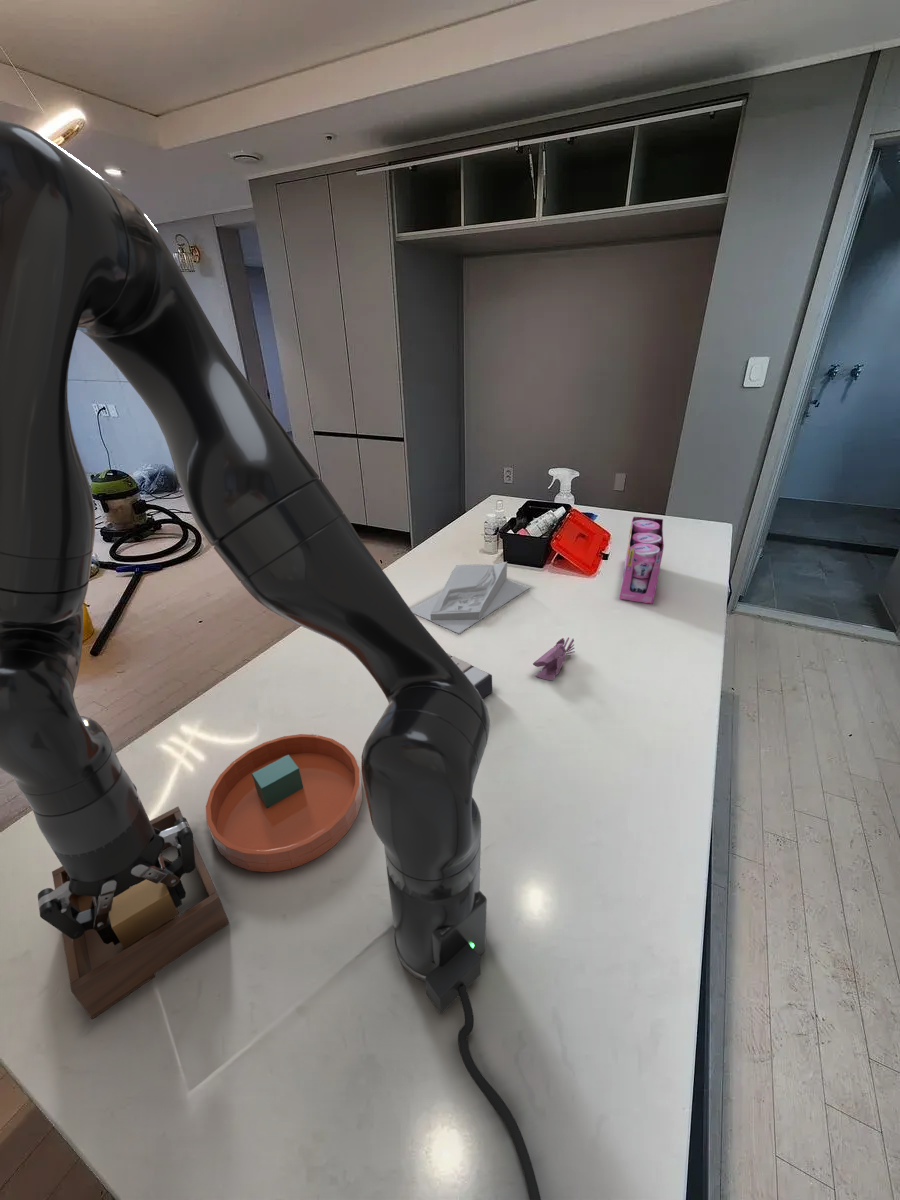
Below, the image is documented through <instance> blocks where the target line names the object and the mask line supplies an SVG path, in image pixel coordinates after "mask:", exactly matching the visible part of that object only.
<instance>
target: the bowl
mask: <svg viewBox="0 0 900 1200" xmlns="http://www.w3.org/2000/svg"><path fill="white" fill-rule="evenodd" d="M286 755H289V756H290V757H291V758H292V760H293V761H294V762H295V764H296V765H297V766H298V768H299V771H300V775H301V779H302V784H303V788H302V789H300V790H298V791H297V792H295V793H293V794H291V795H290V796H288V797H286V798H284V799H283V800H281V801H279V802H277V803H276V804H274V805H272V806H270V807H269V808H266V806H265V804H264V803H263V801H262V800H261V798H260V796H259V795H258V793H257V790H256V787H255V783H254V780H253V776H252V773H254V772H256V771H258V770H260V769H262V768H264V767H265V766H267V765H269V764H271V763H273V762H275V761H277V760H279V759H281V758H283V757H285V756H286ZM359 767H360V766H359V765H358V762H357V760H356V757H355V756H354V754H353V753H352V752H351V750H349V748H348V747H346V746H345V745H344V744H342V743H340V742H339V741H337V740H335V739H333V738H330V737H326V736H322V735H319V734H306V733H298V734H292V735H291V734H290V735H285V736H284V735H283V736H281V737H277V738H274V739H270V740H266V741H265V742H262V743H260V744H258V745H256V746H255V747H252V748H251V749H249V750H247V751H246V752H244V753H243V754H241V755H240V756H238V757H237V758H235V760H233V761H232V762H231V763H230V764H229V765H228V766H226V768H225V769H224V770H223V771H222V772H221V773H220V775H218V777H217V779H216V781H215V782H214V784H213V785H212V787H211V789H210V791H209V793H208V798H207V801H206V803H205V804H206V805H205V818H206V825H207V827H208V831H209V832H210V835H211V837H212V840H213V842H214V844H215V847H216V848H217V850H218V853H219V854H220V855H221V856H222V857H224V858H225V859H226V860H227V861H228V862H229V863H231V864H232V865H234V866H236V867H239V868H241V869H244V870H247V871H252V872H259V873H275V872H280V871H287V870H290V869H294V868H297V867H300V866H303V865H305V864H307V863H310V862H312V861H314V860H316V859H317V858H319V857H321V856H322V855H324V854H325V853H326V852H328V851H329V850H331V849H332V848H334V847H335V845H336V844H338V843H339V842H340V841H341V840H342V839H343V838H344V837H345V835H346V834H347V833H348V832H349V830H350V829H351V827H352V826H353V824H354V822H355V820H356V819H357V817H358V815H359V812H360V808H361V805H362V802H363V788H362V779H361V778H362V777H361V771H360V768H359Z"/></svg>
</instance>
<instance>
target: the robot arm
mask: <svg viewBox="0 0 900 1200" xmlns="http://www.w3.org/2000/svg"><path fill="white" fill-rule="evenodd" d="M77 331H80V332H81V333H83V334H84V335H85V336H87V338H89V339H90V340H91V341H92V342H93V343H94V344H95V345H96V346H97V347H98V348H99V349H100V350H101V351H102V352H103V353H104V354H105V356H107V358H108V359H109V360H110V361H111V362H112V363H113V365H114V366H115V367H116V368H117V369H118V370H119V372H120V373H121V374H122V375H123V377H124V378H125V379H126V380H127V382H128V383H129V384H130V385H131V387H132V388H133V389H134V390H135V392H136V393H137V395H138V396H139V397H140V398H141V400H142V401H143V402H144V404H145V405H146V407H147V408H148V409H149V411H150V413H151V414H152V416H153V417H154V419H155V420H156V423H157V424H158V427H159V428H160V430H161V433H162V435H163V437H164V439H165V442H166V445H167V447H168V450H169V454H170V457H171V460H172V463H173V468H174V470H175V471H174V472H175V473H176V477H177V479H178V483H179V486H180V489H181V492H182V494H183V497H184V500H185V502H186V504H187V507H188V509H189V511H190V514H191V515H192V518H193V519H194V521H195V524H196V525H197V527H198V528H199V530H200V531H201V533H202V534H203V536H204V537H205V538H206V540H207V542H208V543H209V544H210V547H213V550H214V551H215V552H216V554H217V555H218V556H219V557H220V558H221V561H223V563H224V564H225V565H226V566H227V567H228V569H229V570H230V571H231V572H232V574H233V575H234V576H235V578H237V580H238V581H239V582H240V584H241V585H242V586H243V588H244V589H245V591H247V592H248V593H249V594H250V595H251V596H252V598H254V599H255V600H256V601H257V602H258V603H259V604H260V605H262V606H263V607H265V608H266V609H268V610H269V611H271V612H272V613H274V614H276V615H278V616H279V617H281V618H283V619H285V620H287V621H289V622H291V623H293V624H295V625H297V626H300V627H302V628H304V629H306V630H309V631H311V632H313V633H316V634H318V635H320V636H322V637H324V638H327V639H328V640H331V641H332V642H335V643H336V644H338V645H340V646H341V647H343V649H346V650H347V651H348V652H349V653H351V655H353V656H354V657H355V658H356V659H357V660H358V661H359V662H360V664H361V665H362V666H363V667H364V668H365V670H366V671H367V672H368V673H369V675H370V676H371V677H372V678H373V679H374V681H375V682H376V684H377V685H378V687H379V688H380V689H381V691H382V693H383V694H384V696H385V698H386V700H387V704H388V705H387V707H386V708H385V710H384V711H383V713H382V715H381V716H380V718H379V720H378V721H377V723H376V725H375V726H374V728H373V729H372V731H371V732H370V733H369V736H368V737H367V739H366V741H365V743H364V745H363V747H362V748H363V749H362V753H361V763H360V764H361V766H360V767H361V778H362V783H363V788H364V793H365V798H366V802H367V803H366V804H367V808H368V811H369V812H368V813H369V818H370V821H371V825H372V827H373V830H374V832H375V834H376V836H377V837H378V839H379V841H380V842H381V843H382V845H383V849H384V856H385V864H386V873H387V874H386V875H387V881H388V890H389V899H390V905H391V913H392V915H391V916H392V922H393V930H394V945H395V950H396V954H397V956H398V959H399V961H400V963H401V965H402V966H403V967H404V969H405V970H406V971H407V972H408V973H410V974H411V975H412V976H413V977H415V978H417V979H419V980H420V981H423V982H425V989H426V996H427V997H428V998H429V1000H430V1001H431V1003H432V1005H434V1007H435V1009H436V1010H437V1011H438V1013H439V1014H440V1015H442V1014H444V1012H445V1011H446V1010H447V1009H448V1008H449V1007H450V1006H451V1005H452V1004H453V1003H454V1002H455V1001H456V1000H457V999H458V998H459V999H460V1003H461V1007H462V1011H463V1015H464V1024H463V1026H462V1027H461V1028H460V1030H459V1032H458V1035H457V1040H458V1041H457V1042H458V1047H459V1051H460V1052H459V1053H460V1055H461V1058H462V1060H463V1064H464V1065H465V1068H466V1070H467V1072H468V1074H469V1075H470V1076H471V1079H472V1080H473V1081H474V1082H475V1084H476V1085H477V1086H478V1088H479V1090H480V1091H481V1092H482V1093H483V1094H484V1096H485V1097H486V1098H487V1100H488V1101H489V1103H491V1105H492V1106H493V1107H494V1109H495V1110H496V1111H497V1113H498V1114H499V1116H500V1118H501V1119H502V1121H503V1122H504V1125H505V1126H506V1128H507V1129H508V1132H509V1135H510V1136H511V1137H510V1138H511V1139H512V1142H513V1144H514V1147H515V1149H516V1153H517V1155H518V1159H519V1162H520V1165H521V1168H522V1172H523V1175H524V1179H525V1183H526V1187H527V1191H528V1197H529V1200H542V1199H541V1194H540V1190H539V1185H538V1182H537V1177H536V1174H535V1171H534V1166H533V1162H532V1160H531V1157H530V1153H529V1151H528V1148H527V1145H526V1143H525V1140H524V1137H523V1134H522V1131H521V1130H520V1127H519V1125H518V1122H517V1121H516V1118H515V1117H514V1115H513V1114H512V1112H511V1110H510V1109H509V1108H508V1105H507V1104H506V1102H505V1101H504V1100H503V1098H502V1097H501V1096H500V1095H499V1093H498V1091H496V1090H495V1088H494V1087H493V1086H492V1085H491V1083H489V1081H488V1080H487V1079H486V1077H484V1075H483V1074H482V1072H481V1071H480V1070H479V1068H478V1066H477V1065H476V1063H475V1061H474V1059H473V1057H472V1054H471V1052H470V1046H469V1043H468V1037H469V1036H470V1035H471V1033H472V1032H473V1030H474V1025H475V1024H474V1023H475V1022H474V1021H475V1020H474V1019H475V1018H474V1010H473V1007H472V1002H471V999H470V997H469V993H468V990H467V989H468V988H469V987H470V986H471V985H472V984H473V983H474V982H475V981H476V980H477V979H478V978H479V976H481V974H482V973H481V971H482V969H481V967H482V966H481V965H482V958H481V955H482V954H483V953H484V952H486V940H487V939H486V938H487V937H486V935H487V907H488V906H487V904H488V899H487V897H486V896H485V895H484V893H483V892H482V891H481V854H482V853H481V851H482V848H481V847H482V846H481V845H482V816H481V812H480V808H479V806H478V804H477V802H476V800H475V798H474V797H473V792H474V791H473V790H474V784H475V781H476V779H477V775H478V771H479V769H480V766H481V763H482V760H483V756H484V754H485V750H486V747H487V744H488V741H489V736H490V730H491V720H490V719H491V718H490V713H489V710H488V707H487V705H486V703H485V700H484V698H483V699H482V697H481V695H480V694H479V692H478V691H477V689H476V688H475V686H474V685H473V684H472V683H471V681H470V680H469V679H468V678H467V676H466V675H465V674H464V673H463V672H462V670H461V669H460V668H459V667H458V666H457V665H456V663H455V662H454V661H453V660H452V659H451V658H450V656H449V655H448V654H449V653H448V652H446V651H445V649H444V648H443V647H442V646H441V645H440V644H439V642H438V641H437V640H436V639H435V638H434V636H433V635H432V634H431V633H430V632H429V630H428V629H427V628H426V627H425V626H424V625H423V623H422V622H421V621H420V619H418V617H417V615H416V614H414V613H413V612H412V611H411V607H409V605H408V604H407V602H406V601H405V600H404V598H403V597H402V595H401V594H400V593H399V591H398V590H397V588H396V587H395V585H394V584H393V583H392V581H391V579H389V577H388V575H387V574H386V573H385V571H384V570H383V568H382V567H381V566H380V565H379V563H378V562H377V561H376V559H375V558H374V556H373V555H372V553H371V552H370V551H369V549H368V547H366V545H365V543H364V542H363V540H362V539H361V537H360V536H359V534H358V532H357V531H356V528H354V526H353V524H352V523H351V521H350V520H349V518H348V517H347V515H346V513H344V511H343V510H342V508H341V507H340V505H339V503H338V501H336V499H335V497H334V496H333V495H332V493H331V492H330V491H329V489H328V487H327V486H326V485H325V483H324V482H323V480H322V479H321V478H320V475H318V473H317V472H316V471H315V469H314V467H313V466H312V465H311V464H310V462H309V461H308V460H307V458H306V457H305V456H304V454H303V453H302V452H301V450H300V449H299V448H298V446H297V445H296V443H295V442H294V441H293V440H292V438H291V436H290V435H289V434H288V432H287V431H286V429H285V428H284V427H283V425H282V424H281V423H280V421H279V420H278V418H277V417H276V416H275V415H274V413H273V411H272V410H271V409H270V408H269V406H268V405H267V404H266V403H265V401H264V400H263V399H262V398H261V396H260V395H259V393H258V392H257V391H256V390H255V388H254V387H253V386H252V385H251V383H250V382H249V381H248V380H247V378H246V377H245V376H244V374H243V372H241V371H240V369H239V368H238V366H237V365H236V363H235V362H234V360H233V358H232V357H231V355H230V354H229V352H228V351H227V349H226V347H225V346H224V345H223V343H222V341H221V340H220V338H219V336H218V335H217V332H216V331H215V329H214V328H213V326H212V324H211V322H210V320H209V318H208V317H207V315H206V314H205V312H204V310H203V308H202V307H201V305H200V303H199V301H198V299H197V298H196V296H195V294H194V292H193V290H192V289H191V287H190V285H189V283H188V281H187V279H186V278H185V276H184V274H183V272H182V270H181V269H180V267H179V265H178V263H177V262H176V260H175V258H174V256H173V254H172V253H171V251H170V250H169V247H168V246H167V244H166V243H165V241H164V239H163V237H162V236H161V235H160V233H159V232H158V230H157V228H156V227H155V226H154V224H153V223H152V222H151V220H150V219H149V218H148V216H147V215H146V214H145V212H144V211H143V210H142V209H141V208H140V207H139V205H137V204H136V203H135V202H134V201H133V200H131V199H130V197H128V196H127V195H126V194H125V193H123V192H122V190H120V189H119V188H117V187H115V185H113V184H111V183H110V182H109V181H107V180H106V179H105V178H104V177H102V176H100V175H99V174H98V173H96V172H95V171H94V170H92V169H91V168H90V167H88V166H87V165H85V164H84V163H83V162H81V161H80V160H79V159H77V158H76V157H75V156H73V155H72V154H70V153H68V152H67V151H66V150H64V149H63V148H61V146H58V145H57V144H56V143H54V142H53V141H51V140H50V139H48V138H46V137H44V136H43V135H41V134H40V133H38V132H36V131H35V130H33V129H30V128H29V127H26V126H24V125H21V124H18V123H16V122H13V121H7V120H5V119H0V770H2V771H4V772H5V773H6V774H8V775H9V776H11V777H13V779H14V782H15V783H16V785H17V787H18V789H19V790H20V792H21V793H22V796H23V797H24V799H25V800H26V802H27V804H28V805H29V807H30V808H31V810H32V812H33V815H34V817H35V821H36V824H37V826H38V828H39V830H40V832H41V833H42V835H43V837H44V839H45V840H46V841H47V844H48V845H49V847H50V848H51V850H52V851H53V854H54V855H55V856H56V857H57V859H58V861H59V862H60V864H61V867H62V866H63V867H64V869H65V871H66V872H67V874H68V877H67V882H65V883H64V884H62V885H61V886H59V887H58V888H56V889H55V888H54V889H53V888H51V887H47V888H44V889H42V890H40V891H39V892H38V893H37V902H38V910H39V917H40V919H42V920H44V921H45V922H47V923H48V924H49V925H51V926H52V927H54V929H57V930H58V931H59V932H61V934H62V933H64V934H65V935H67V936H68V937H70V938H71V939H77V938H79V937H81V936H82V935H83V934H84V933H85V931H87V930H90V929H94V930H96V931H97V933H98V934H99V936H100V938H101V939H102V941H103V942H104V943H105V944H109V943H111V942H113V944H114V945H116V944H118V943H120V941H119V939H118V937H117V936H116V934H115V932H114V931H113V929H112V927H111V922H110V918H109V912H110V911H111V909H112V903H113V897H116V896H118V895H119V894H121V893H123V892H124V891H125V890H127V889H128V888H131V887H133V886H135V885H136V884H138V883H140V882H142V881H144V880H146V879H147V880H149V881H151V882H154V883H156V884H158V883H159V882H160V883H162V884H165V885H166V886H167V889H168V891H169V893H170V895H171V897H172V899H173V902H174V904H175V906H176V908H177V909H178V907H180V906H182V905H183V902H182V900H183V899H185V898H186V895H187V892H186V890H185V887H184V884H183V883H182V880H181V878H182V876H183V875H184V874H190V873H192V872H193V871H194V870H195V869H196V866H195V855H194V842H195V841H194V842H193V840H194V834H193V831H192V828H191V826H190V824H189V822H188V819H187V818H186V817H185V816H183V817H182V818H179V819H177V820H176V821H175V826H174V827H171V828H169V829H166V830H164V831H160V830H159V829H156V828H154V827H153V826H152V824H151V822H150V821H151V819H150V817H149V816H148V813H147V811H146V810H145V807H144V805H143V802H142V800H141V799H140V796H139V794H138V788H137V786H136V785H135V784H134V782H133V781H132V779H131V777H130V775H129V774H128V773H127V771H126V769H124V767H123V766H122V764H121V762H120V760H119V757H118V756H117V753H116V751H115V748H114V747H113V745H112V743H111V740H110V738H109V736H108V735H107V733H106V731H105V729H104V728H103V727H102V725H100V724H99V723H98V721H96V720H94V719H92V718H91V717H88V716H84V715H80V713H79V711H78V709H77V706H76V701H75V697H74V693H75V687H76V684H77V680H78V675H79V673H80V672H79V671H80V666H81V659H82V651H83V639H84V638H83V637H84V603H85V601H86V597H87V594H88V589H89V582H90V577H91V569H92V560H93V559H92V558H93V552H94V545H95V536H96V509H95V502H94V497H93V492H92V489H91V485H90V482H89V478H88V476H87V473H86V470H85V467H84V464H83V462H82V459H81V455H80V452H79V450H78V447H77V442H76V439H75V436H74V432H73V427H72V422H71V417H70V412H69V411H70V410H69V399H68V398H69V396H68V395H69V392H68V391H69V390H68V388H69V387H68V386H69V385H68V383H69V382H68V381H69V369H70V362H71V356H72V352H73V347H74V342H75V340H76V339H75V338H76V335H77ZM447 653H448V654H447ZM165 843H170V844H171V847H173V848H176V853H177V857H176V858H175V859H174V860H173V861H172V860H170V859H167V858H165V857H164V856H162V854H161V853H162V851H163V850H162V849H163V847H164V844H165ZM71 894H75V895H84V896H91V904H90V909H89V910H86V911H83V912H81V910H79V909H78V908H77V907H75V906H74V905H73V904H71V902H70V896H71Z"/></svg>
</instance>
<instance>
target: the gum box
mask: <svg viewBox="0 0 900 1200" xmlns="http://www.w3.org/2000/svg"><path fill="white" fill-rule="evenodd" d="M664 548H665V543H664V519H663V518H654V517H643V516H632V519H631V524H630V529H629V534H628V540H627V545H626V553H625V558H624V564H623V571H622V580H621V586H620V592H619V593H620V594H619V599H620V600H625V601H631V602H639V603H645V604H651V605H652V604H654V600H655V594H656V591H657V590H656V589H657V585H658V579H659V573H660V569H661V565H662V560H663V553H664Z"/></svg>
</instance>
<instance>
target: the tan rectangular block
mask: <svg viewBox="0 0 900 1200" xmlns="http://www.w3.org/2000/svg"><path fill="white" fill-rule="evenodd" d="M179 915H180V913H179V909H178V907H177V908H176V906H175V904H174V902H173V899H172V897H171V895H170V893H169V891H168V889H167V886H166V885H165V884H162V883H160V882H159V883H158V884H156V883H154V882H151V881H149V880H147V879H146V880H144V881H142V882H140V883H138V884H136V885H133V886H131V887H129V889H128V890H126V891H124V892H123V893H121V894H119V895H118V896H116V897H114V898H113V903H112V909H111V911H110V912H109V918H110V922H111V927H112V929H113V931H114V932H115V934H116V936H117V937H118V939H119V941H120V942H121V944H122V946H123V947H124V948H126V947H128V946H129V945H131V944H133V943H134V942H136V941H137V940H139V939H141V938H142V937H146V936H147V935H149V934H151V933H152V932H154V931H155V930H157V929H159V928H160V927H162V926H163V925H165V924H166V923H168V922H170V921H171V920H173V919H174V918H176V917H178V916H179Z"/></svg>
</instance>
